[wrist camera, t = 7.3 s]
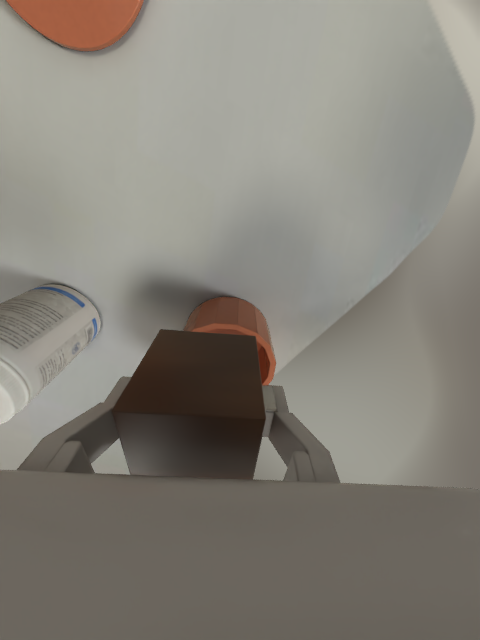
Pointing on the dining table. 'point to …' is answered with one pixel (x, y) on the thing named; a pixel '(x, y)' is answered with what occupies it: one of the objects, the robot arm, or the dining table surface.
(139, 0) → the bowl lid
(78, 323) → the supplement tub
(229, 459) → the block
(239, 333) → the bowl
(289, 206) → the dining table surface
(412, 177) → the dining table surface
